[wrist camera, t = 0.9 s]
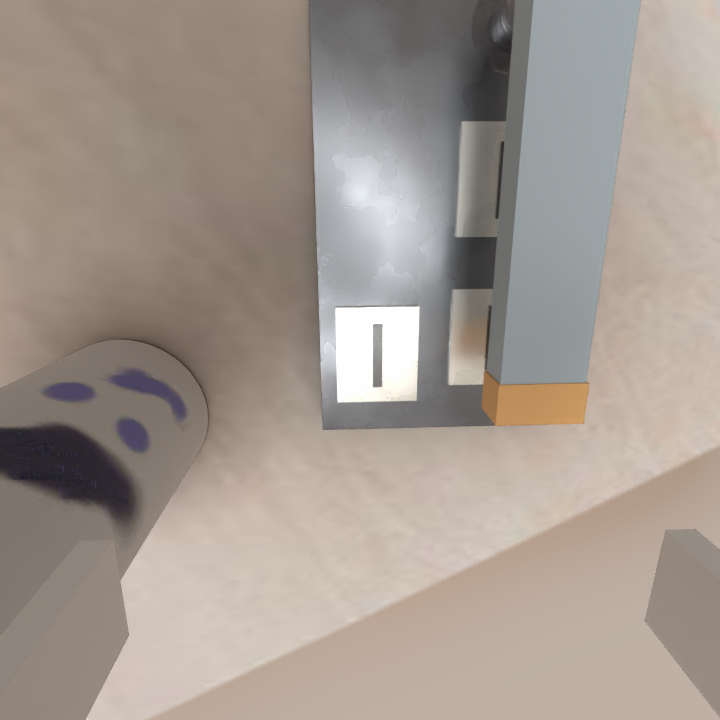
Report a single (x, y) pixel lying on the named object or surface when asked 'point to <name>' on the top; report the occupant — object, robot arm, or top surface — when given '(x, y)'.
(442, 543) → the top surface
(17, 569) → the container
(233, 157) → the top surface
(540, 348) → the grey long bar
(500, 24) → the post
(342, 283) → the slotted grey board
